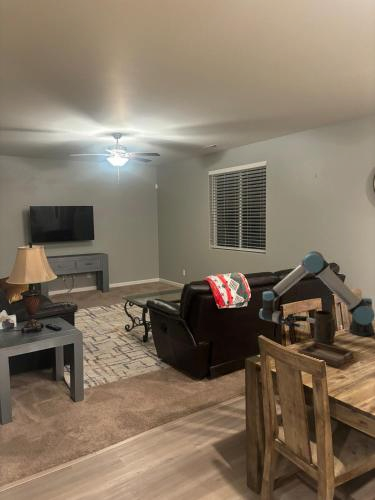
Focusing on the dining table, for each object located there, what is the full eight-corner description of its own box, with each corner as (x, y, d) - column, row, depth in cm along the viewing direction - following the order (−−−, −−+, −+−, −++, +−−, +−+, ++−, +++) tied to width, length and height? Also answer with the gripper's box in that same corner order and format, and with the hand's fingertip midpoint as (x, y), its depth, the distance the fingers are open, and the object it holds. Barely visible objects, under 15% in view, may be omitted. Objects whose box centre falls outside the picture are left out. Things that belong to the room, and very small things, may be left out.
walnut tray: (314, 347, 215) (314, 341, 215) (353, 357, 199) (353, 351, 198) (297, 356, 203) (297, 350, 203) (337, 367, 186) (337, 361, 186)
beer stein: (309, 342, 223) (310, 311, 220) (321, 339, 228) (323, 308, 225) (329, 352, 210) (331, 319, 207) (342, 348, 215) (344, 316, 211)
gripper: (291, 319, 249) (320, 325, 233) (269, 327, 232) (299, 335, 217) (291, 308, 248) (320, 314, 232) (269, 315, 232) (299, 322, 216)
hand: (310, 324), depth 224 cm, fingers open, 13 cm apart
